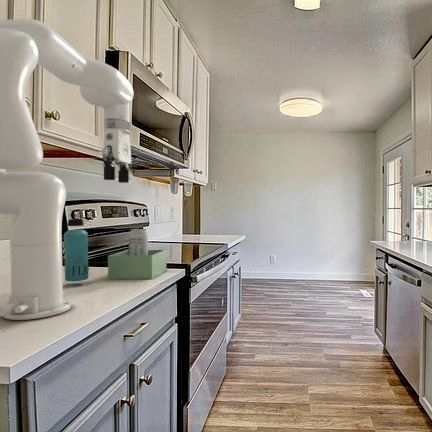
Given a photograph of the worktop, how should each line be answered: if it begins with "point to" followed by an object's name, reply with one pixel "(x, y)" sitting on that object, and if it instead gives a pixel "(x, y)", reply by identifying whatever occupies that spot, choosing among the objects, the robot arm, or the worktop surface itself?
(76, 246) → the beverage bottle
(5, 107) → the robot arm
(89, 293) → the worktop surface
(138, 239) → the energy drink can
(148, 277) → the green storage box
